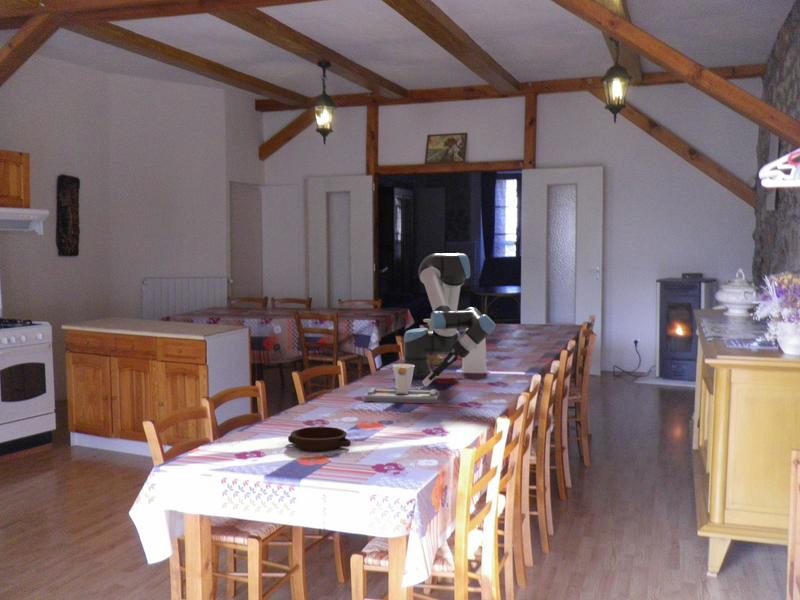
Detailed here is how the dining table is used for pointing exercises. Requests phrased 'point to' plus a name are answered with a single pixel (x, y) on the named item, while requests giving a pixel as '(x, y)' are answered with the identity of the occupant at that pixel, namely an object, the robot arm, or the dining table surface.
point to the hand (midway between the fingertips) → (424, 384)
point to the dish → (319, 438)
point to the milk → (476, 359)
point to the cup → (409, 374)
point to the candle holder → (433, 359)
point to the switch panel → (402, 396)
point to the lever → (402, 381)
